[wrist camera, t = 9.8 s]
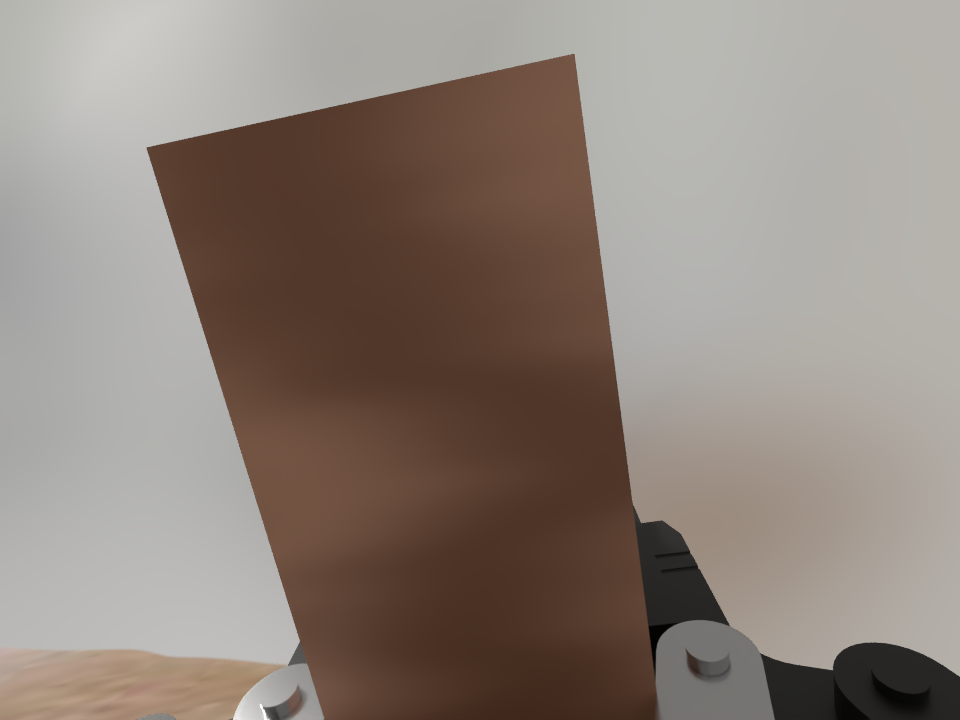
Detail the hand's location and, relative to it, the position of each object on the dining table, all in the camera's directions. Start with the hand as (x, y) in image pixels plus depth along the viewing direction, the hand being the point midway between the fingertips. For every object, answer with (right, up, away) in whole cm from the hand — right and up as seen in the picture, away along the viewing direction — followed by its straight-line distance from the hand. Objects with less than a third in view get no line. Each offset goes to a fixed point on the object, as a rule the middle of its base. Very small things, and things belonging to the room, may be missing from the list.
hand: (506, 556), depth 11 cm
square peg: (+2, -10, 0) cm, 10 cm away
